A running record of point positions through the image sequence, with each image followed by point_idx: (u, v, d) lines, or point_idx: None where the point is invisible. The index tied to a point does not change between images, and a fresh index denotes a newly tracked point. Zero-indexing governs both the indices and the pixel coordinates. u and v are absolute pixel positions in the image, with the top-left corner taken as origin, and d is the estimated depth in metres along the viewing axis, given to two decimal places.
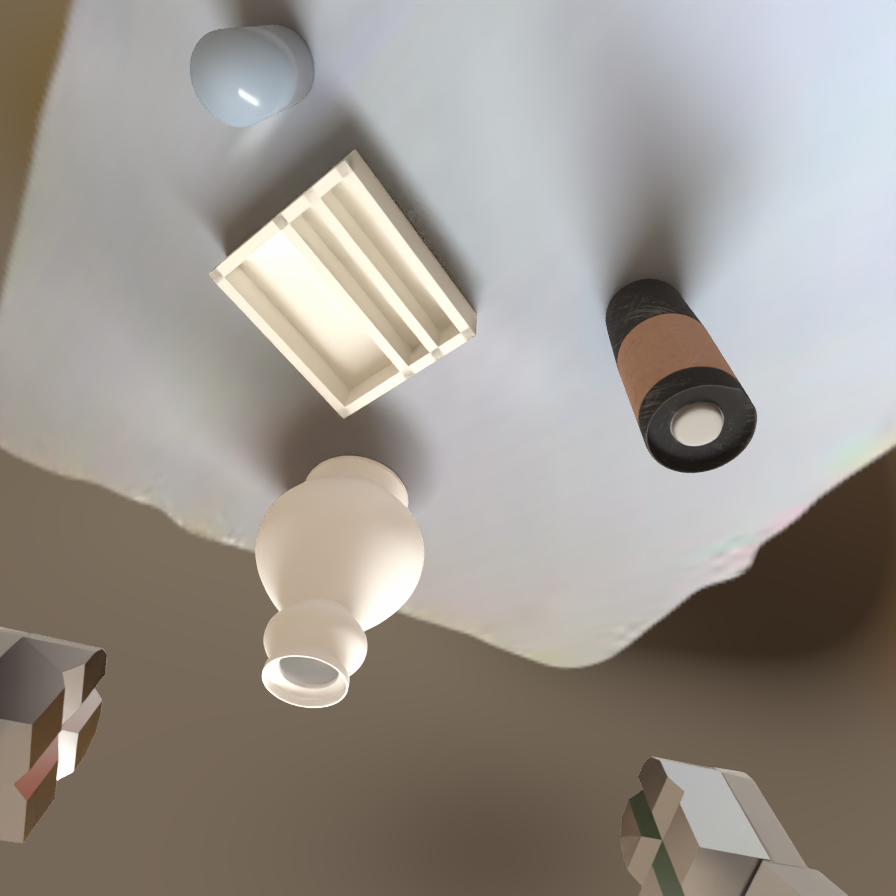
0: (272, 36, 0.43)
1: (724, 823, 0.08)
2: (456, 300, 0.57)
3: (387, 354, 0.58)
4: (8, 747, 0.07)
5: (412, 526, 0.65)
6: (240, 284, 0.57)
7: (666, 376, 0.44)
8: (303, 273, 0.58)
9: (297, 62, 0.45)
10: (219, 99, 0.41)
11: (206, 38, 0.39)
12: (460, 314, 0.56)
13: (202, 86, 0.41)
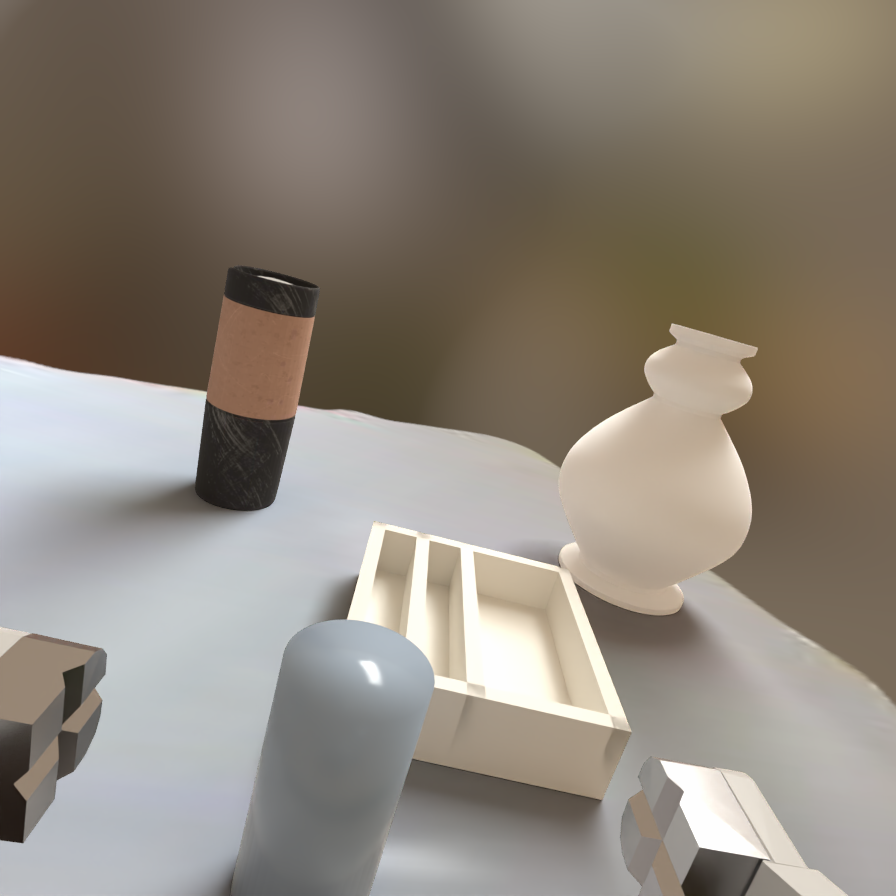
0: (259, 767, 0.23)
1: (723, 823, 0.08)
2: None
3: (472, 562, 0.47)
4: (8, 747, 0.07)
5: (561, 469, 0.61)
6: None
7: (260, 309, 0.50)
8: None
9: None
10: (403, 670, 0.23)
11: (340, 712, 0.20)
12: None
13: (410, 693, 0.22)
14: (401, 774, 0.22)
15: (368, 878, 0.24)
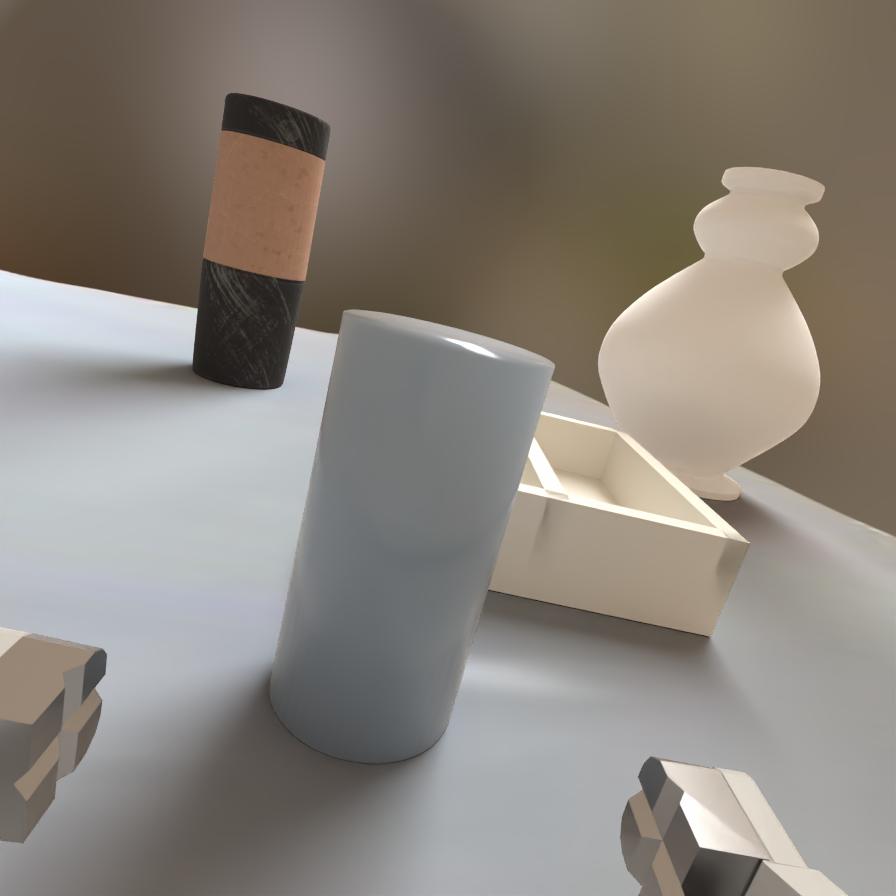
0: (310, 489, 0.16)
1: (723, 823, 0.08)
2: None
3: None
4: (8, 747, 0.07)
5: (602, 347, 0.55)
6: None
7: (264, 139, 0.43)
8: None
9: None
10: (508, 350, 0.16)
11: (438, 348, 0.14)
12: None
13: (527, 360, 0.15)
14: (513, 482, 0.16)
15: (463, 651, 0.17)
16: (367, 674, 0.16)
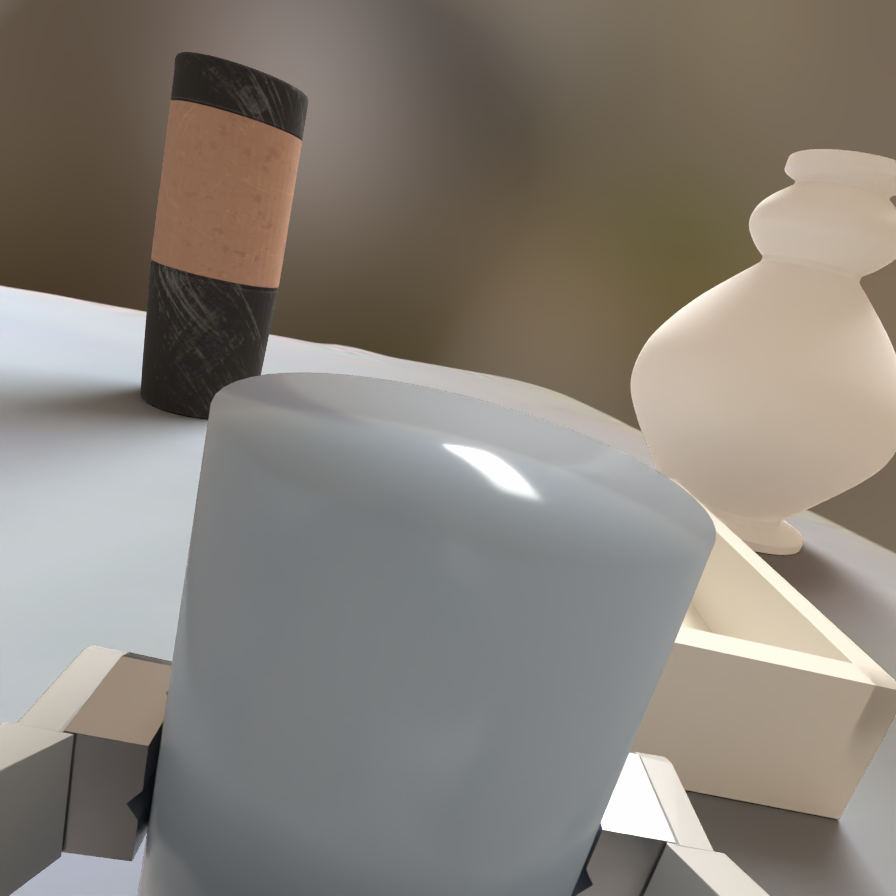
0: (155, 777, 0.07)
1: (633, 806, 0.08)
2: None
3: None
4: (123, 768, 0.07)
5: (636, 367, 0.46)
6: None
7: (221, 109, 0.34)
8: None
9: None
10: (593, 468, 0.08)
11: (442, 531, 0.05)
12: None
13: (653, 511, 0.06)
14: (614, 787, 0.07)
15: None
16: None
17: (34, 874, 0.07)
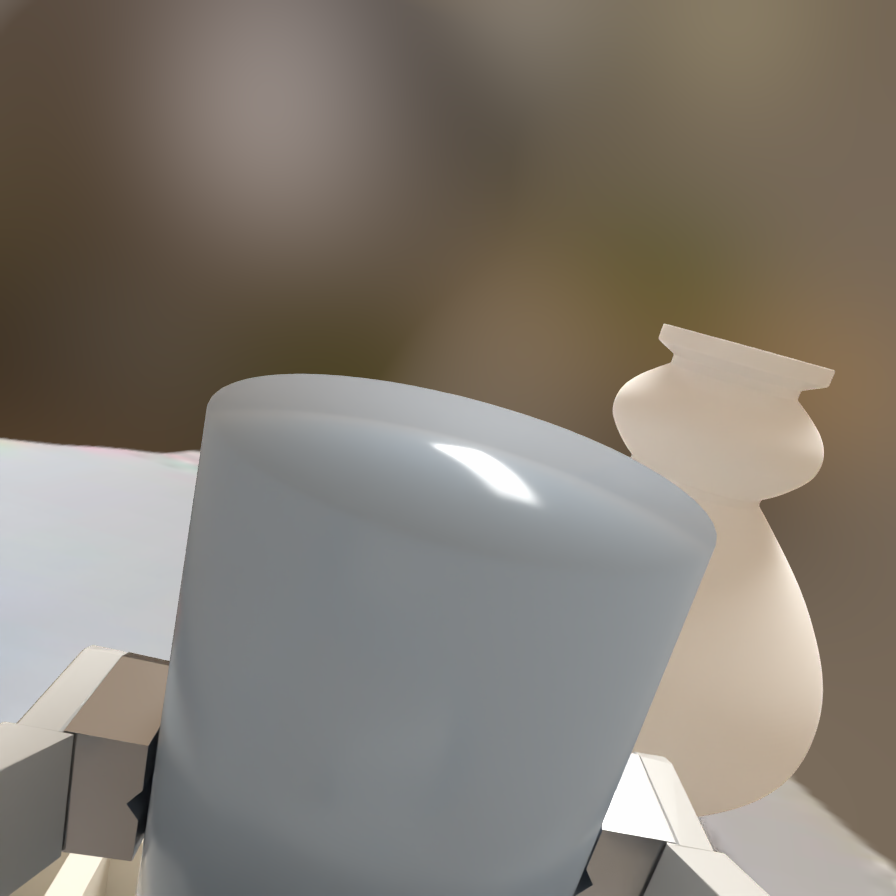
0: (152, 781, 0.07)
1: (632, 806, 0.08)
2: None
3: None
4: (123, 768, 0.07)
5: None
6: None
7: None
8: None
9: None
10: (593, 469, 0.07)
11: (440, 535, 0.05)
12: None
13: (653, 514, 0.06)
14: (614, 792, 0.07)
15: None
16: None
17: (34, 873, 0.07)
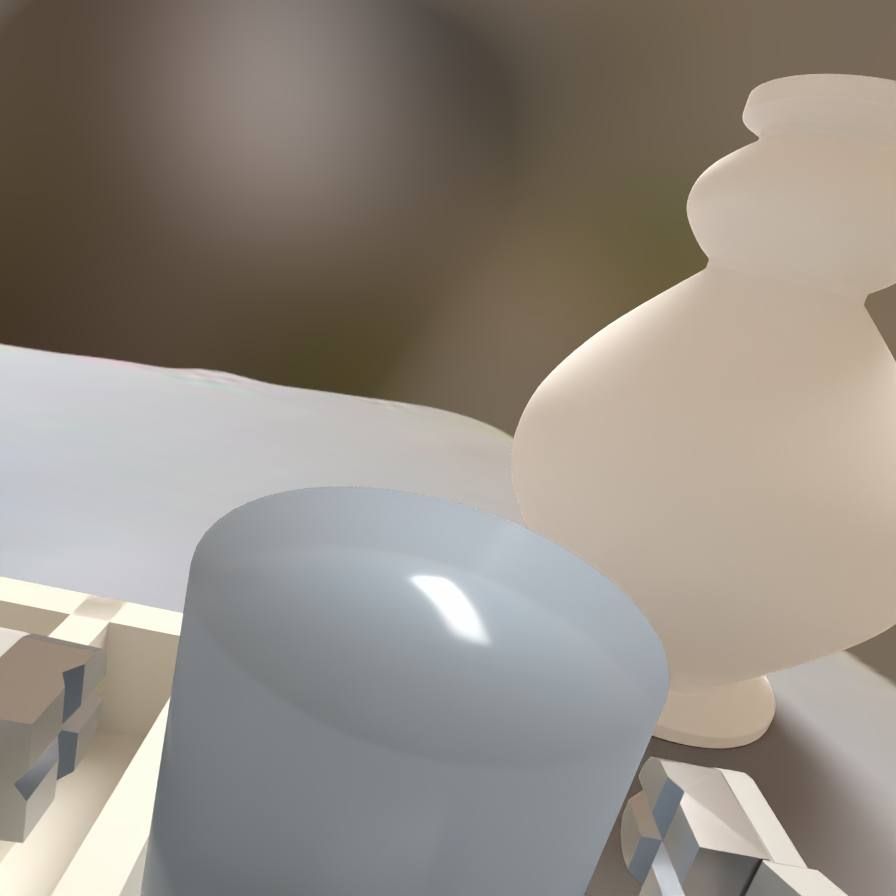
0: (140, 894, 0.08)
1: (723, 823, 0.08)
2: None
3: None
4: (8, 747, 0.07)
5: (515, 433, 0.29)
6: None
7: None
8: None
9: None
10: (560, 600, 0.08)
11: (399, 734, 0.05)
12: None
13: (610, 662, 0.07)
14: None
15: None
16: None
17: None
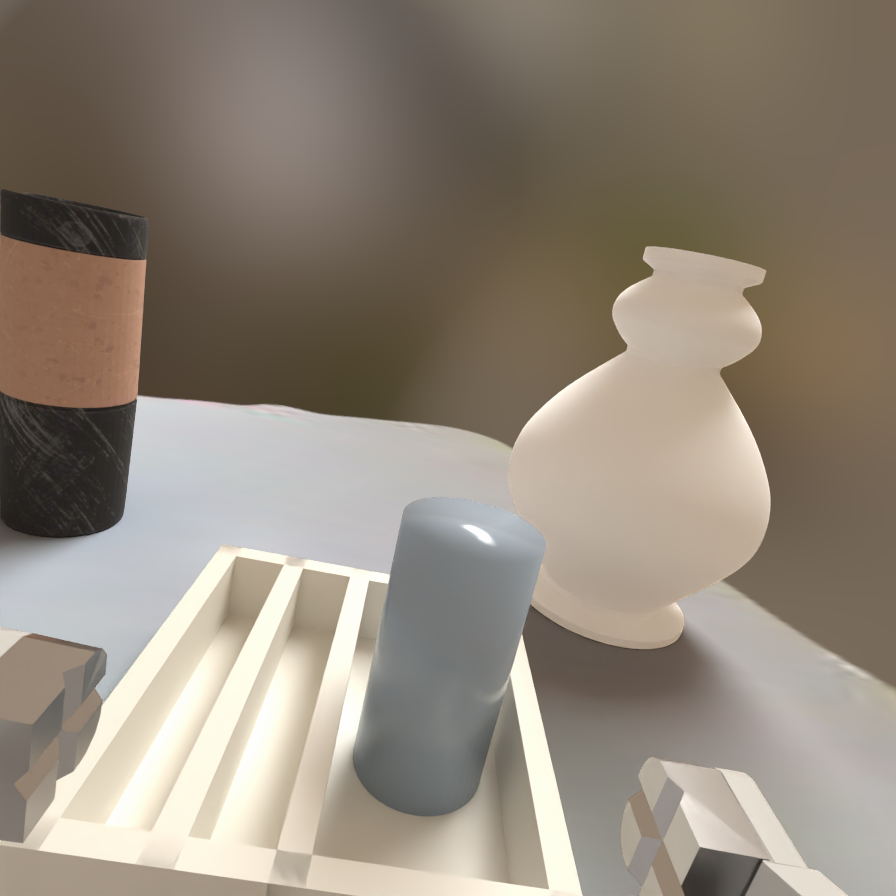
0: (382, 631, 0.24)
1: (723, 823, 0.08)
2: None
3: (361, 599, 0.31)
4: (8, 747, 0.07)
5: (510, 457, 0.45)
6: (531, 878, 0.20)
7: (43, 246, 0.34)
8: (388, 834, 0.23)
9: None
10: (514, 531, 0.24)
11: (469, 555, 0.21)
12: None
13: (527, 546, 0.23)
14: (520, 626, 0.23)
15: (489, 736, 0.25)
16: (425, 757, 0.23)
17: None
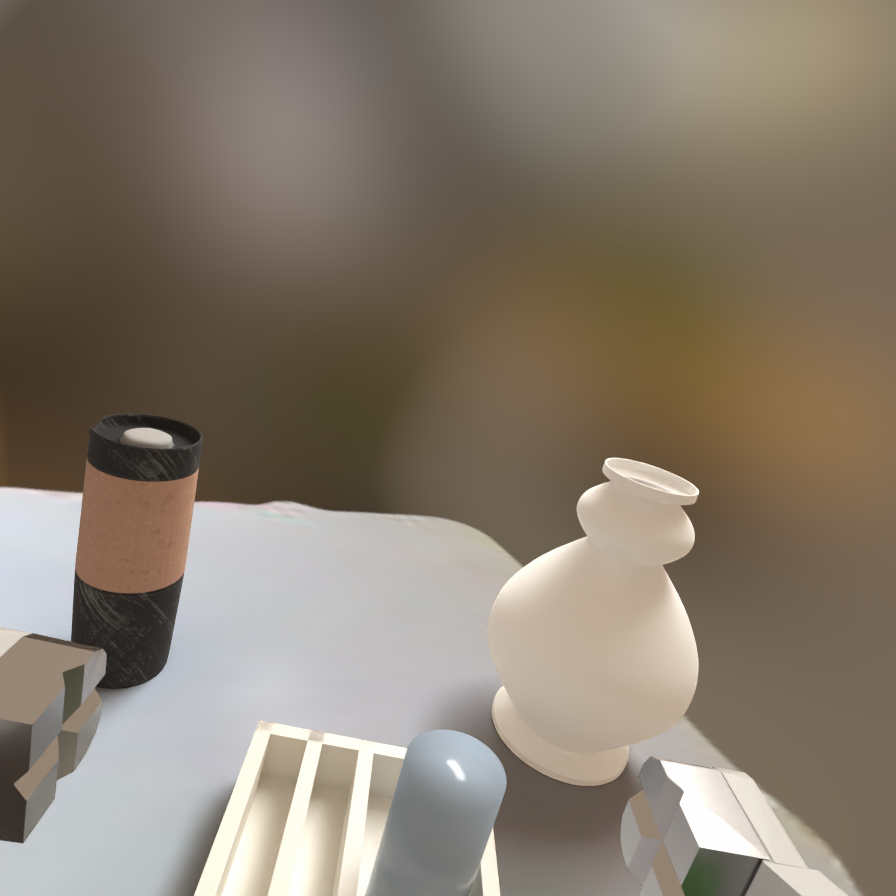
0: (386, 839, 0.33)
1: (724, 823, 0.08)
2: None
3: (368, 776, 0.41)
4: (8, 747, 0.07)
5: (490, 615, 0.55)
6: None
7: (124, 478, 0.43)
8: None
9: None
10: (484, 769, 0.33)
11: (451, 807, 0.31)
12: (249, 749, 0.41)
13: (492, 788, 0.32)
14: (486, 842, 0.33)
15: None
16: None
17: None
